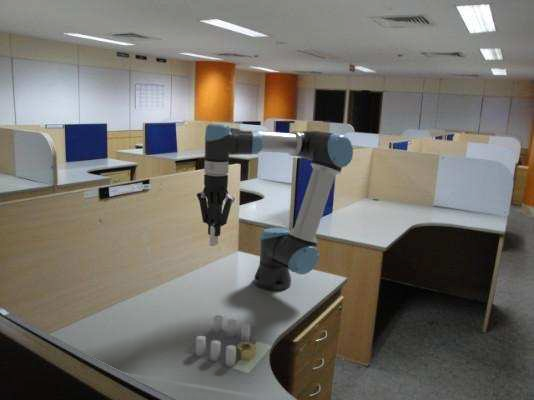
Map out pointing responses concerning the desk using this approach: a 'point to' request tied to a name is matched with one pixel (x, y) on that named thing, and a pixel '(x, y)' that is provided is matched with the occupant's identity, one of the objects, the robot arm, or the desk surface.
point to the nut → (245, 351)
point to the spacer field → (227, 345)
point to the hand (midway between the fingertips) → (213, 244)
